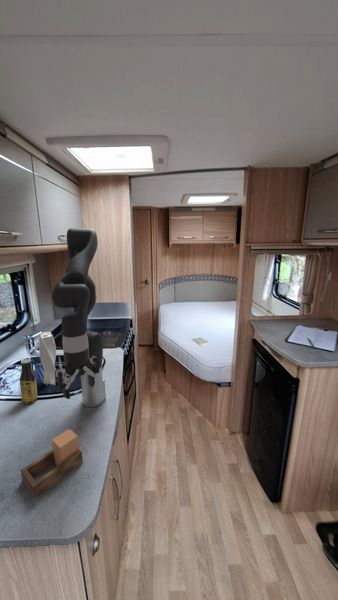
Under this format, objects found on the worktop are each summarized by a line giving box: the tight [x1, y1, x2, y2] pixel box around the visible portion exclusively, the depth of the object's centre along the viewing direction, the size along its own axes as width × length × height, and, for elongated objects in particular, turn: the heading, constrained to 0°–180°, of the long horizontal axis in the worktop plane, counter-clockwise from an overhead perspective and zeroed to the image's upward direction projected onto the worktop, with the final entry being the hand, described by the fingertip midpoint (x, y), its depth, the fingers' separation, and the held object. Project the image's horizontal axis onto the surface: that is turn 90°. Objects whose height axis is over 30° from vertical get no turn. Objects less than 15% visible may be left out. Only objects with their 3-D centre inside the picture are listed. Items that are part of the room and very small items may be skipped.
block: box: [51, 428, 80, 467], centre depth 80 cm, size 6×5×9 cm
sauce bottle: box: [19, 358, 38, 405], centre depth 109 cm, size 6×6×20 cm
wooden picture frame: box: [20, 448, 84, 499], centre depth 77 cm, size 15×8×4 cm, turn 142°
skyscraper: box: [38, 331, 65, 386], centre depth 123 cm, size 8×8×28 cm
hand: (79, 391), depth 81 cm, fingers open, 8 cm apart
